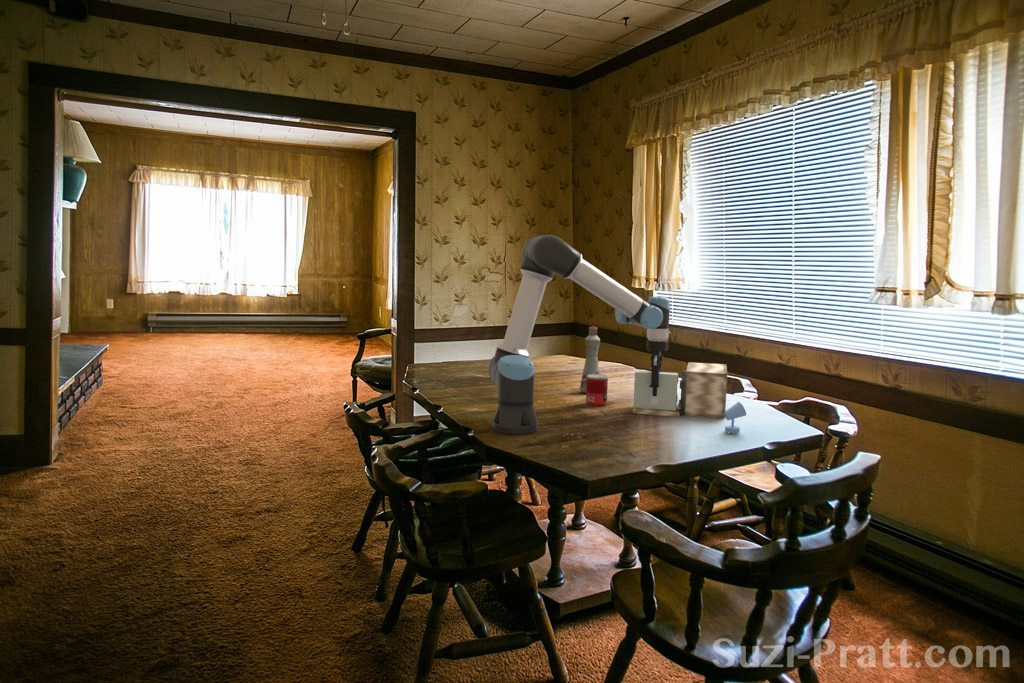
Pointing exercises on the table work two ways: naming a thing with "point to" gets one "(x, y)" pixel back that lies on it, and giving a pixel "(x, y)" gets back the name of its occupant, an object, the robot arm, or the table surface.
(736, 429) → the spotlight
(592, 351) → the bottle
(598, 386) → the canned food
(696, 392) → the cabinet
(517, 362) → the robot arm
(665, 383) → the door
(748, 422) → the table surface
